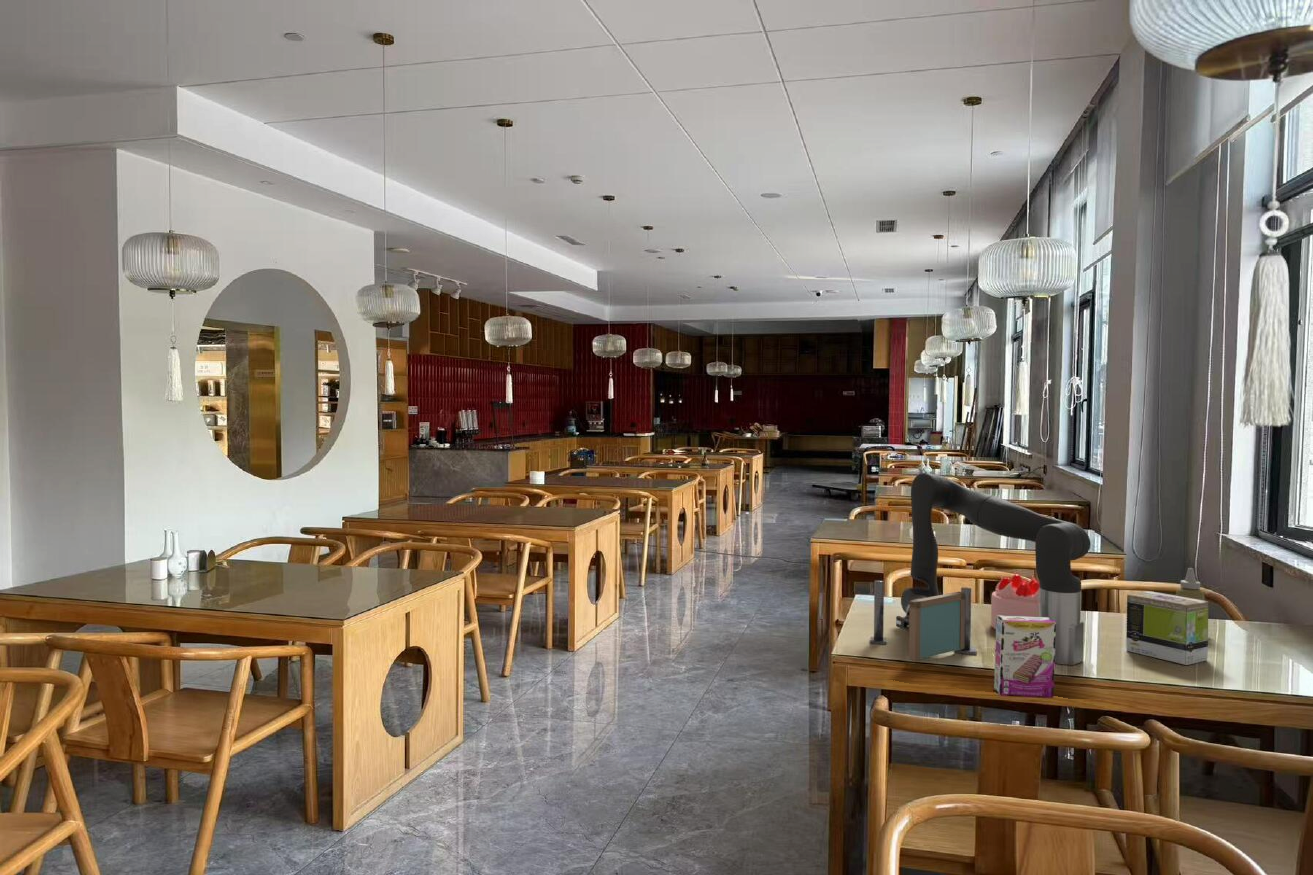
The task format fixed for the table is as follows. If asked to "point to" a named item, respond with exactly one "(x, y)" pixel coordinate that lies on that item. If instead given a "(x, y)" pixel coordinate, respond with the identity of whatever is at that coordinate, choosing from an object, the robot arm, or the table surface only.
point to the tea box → (1167, 627)
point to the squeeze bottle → (1190, 587)
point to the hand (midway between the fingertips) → (921, 631)
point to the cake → (1015, 598)
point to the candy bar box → (1025, 656)
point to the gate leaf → (936, 625)
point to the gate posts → (880, 618)
